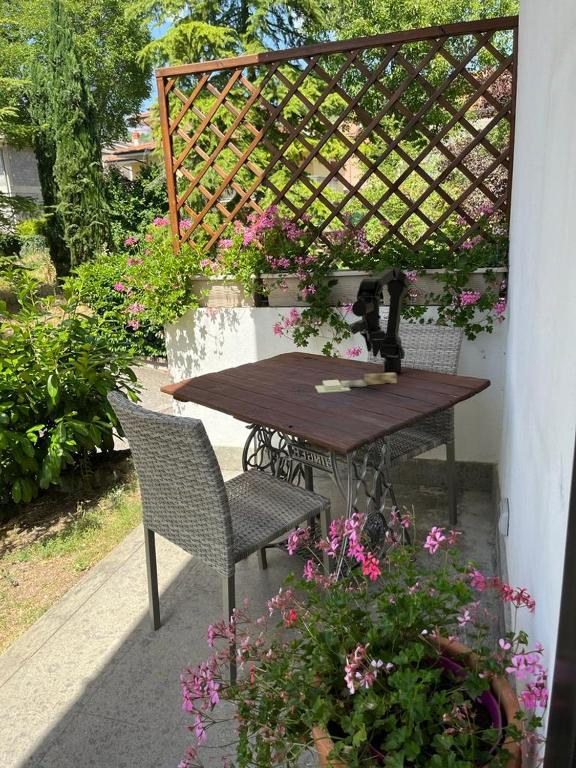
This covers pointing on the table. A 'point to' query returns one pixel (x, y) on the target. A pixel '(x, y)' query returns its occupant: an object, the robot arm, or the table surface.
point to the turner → (371, 380)
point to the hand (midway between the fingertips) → (372, 354)
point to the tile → (331, 385)
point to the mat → (322, 390)
